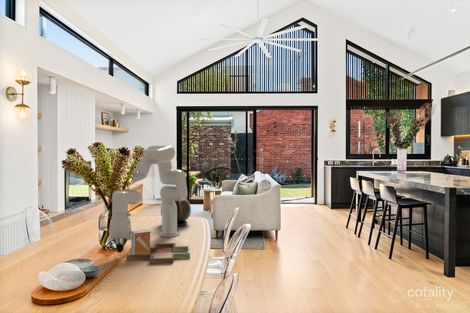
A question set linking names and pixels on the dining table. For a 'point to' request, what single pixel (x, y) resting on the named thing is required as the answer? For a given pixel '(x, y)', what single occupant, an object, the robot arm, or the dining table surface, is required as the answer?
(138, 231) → the small box
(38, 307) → the dining table surface
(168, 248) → the trap track
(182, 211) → the amphora vase
